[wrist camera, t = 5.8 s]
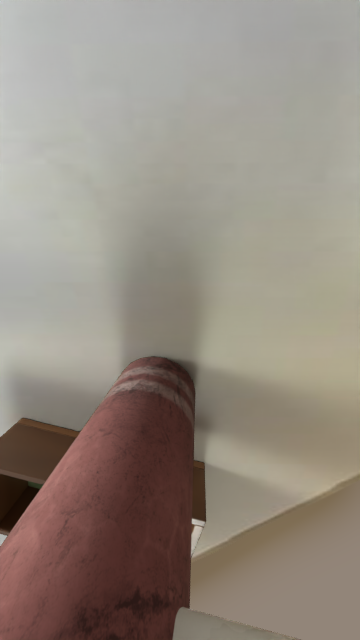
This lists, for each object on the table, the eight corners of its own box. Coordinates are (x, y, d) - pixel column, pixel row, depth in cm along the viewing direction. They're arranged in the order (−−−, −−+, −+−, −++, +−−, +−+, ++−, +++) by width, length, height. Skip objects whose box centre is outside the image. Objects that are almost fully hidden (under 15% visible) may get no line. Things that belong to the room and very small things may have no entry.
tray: (22, 417, 18) (-28, 461, 14) (204, 462, 17) (206, 522, 13) (28, 480, 21) (-11, 531, 17) (184, 521, 20) (181, 583, 16)
